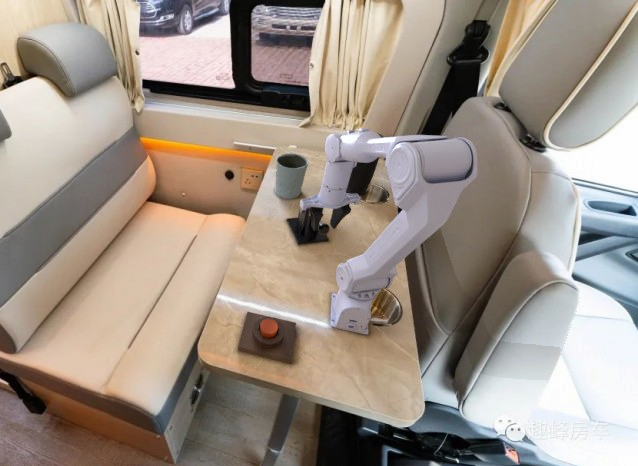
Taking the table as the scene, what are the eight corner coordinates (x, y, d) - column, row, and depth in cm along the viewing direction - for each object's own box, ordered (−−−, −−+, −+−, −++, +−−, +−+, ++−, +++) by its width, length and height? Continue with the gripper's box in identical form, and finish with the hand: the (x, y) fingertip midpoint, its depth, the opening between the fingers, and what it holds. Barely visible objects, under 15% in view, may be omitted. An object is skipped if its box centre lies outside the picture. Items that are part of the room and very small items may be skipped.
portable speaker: (366, 184, 115) (385, 131, 102) (367, 199, 109) (386, 145, 96) (341, 180, 117) (356, 128, 104) (340, 195, 111) (356, 141, 98)
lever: (330, 236, 85) (332, 227, 83) (319, 237, 85) (321, 228, 83) (313, 210, 94) (314, 201, 92) (303, 211, 94) (304, 203, 92)
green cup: (270, 197, 110) (273, 165, 102) (275, 181, 117) (279, 151, 109) (300, 202, 108) (306, 170, 100) (304, 186, 115) (310, 155, 107)
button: (278, 325, 70) (279, 320, 69) (275, 340, 67) (276, 335, 66) (261, 321, 71) (262, 316, 70) (258, 336, 68) (259, 331, 67)
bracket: (328, 241, 94) (335, 214, 87) (297, 245, 93) (303, 218, 86) (314, 217, 102) (320, 191, 95) (286, 221, 101) (290, 194, 94)
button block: (295, 326, 73) (297, 317, 71) (290, 364, 67) (292, 355, 64) (247, 315, 76) (247, 306, 73) (237, 350, 69) (238, 342, 67)
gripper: (356, 171, 80) (343, 215, 89) (299, 177, 78) (291, 220, 87) (370, 187, 75) (355, 232, 84) (309, 193, 73) (300, 238, 82)
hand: (323, 227), depth 85 cm, fingers open, 4 cm apart
